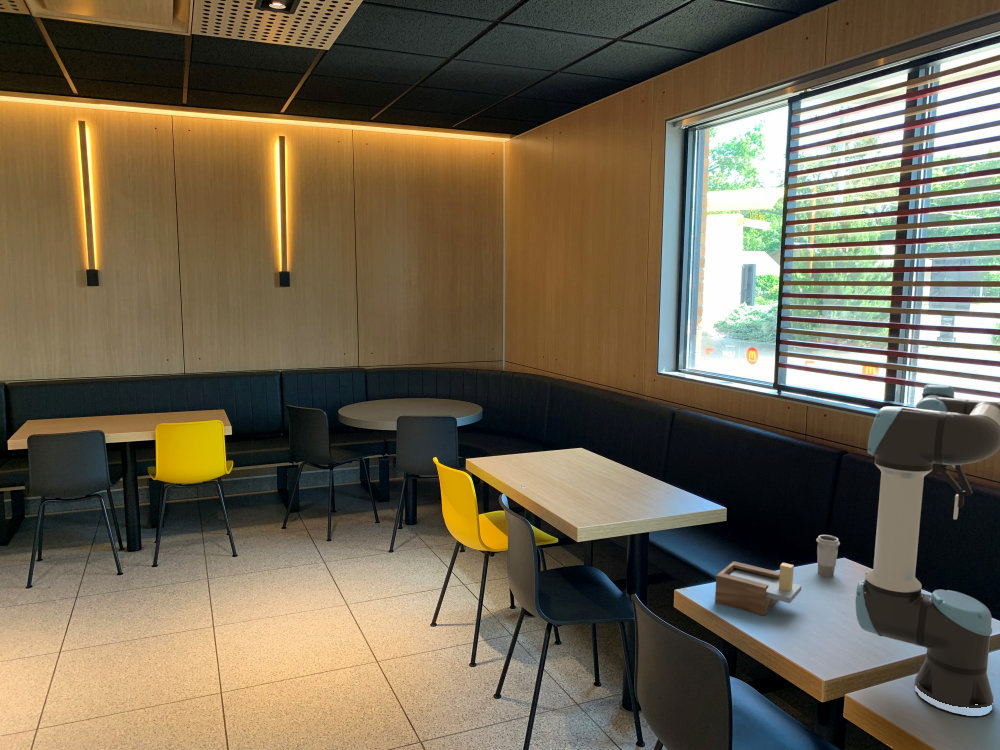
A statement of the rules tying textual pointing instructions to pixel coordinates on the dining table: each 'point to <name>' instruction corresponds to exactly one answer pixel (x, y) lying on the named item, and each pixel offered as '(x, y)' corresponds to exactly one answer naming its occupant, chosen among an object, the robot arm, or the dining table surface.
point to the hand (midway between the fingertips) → (927, 513)
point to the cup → (827, 554)
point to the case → (744, 589)
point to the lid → (775, 583)
